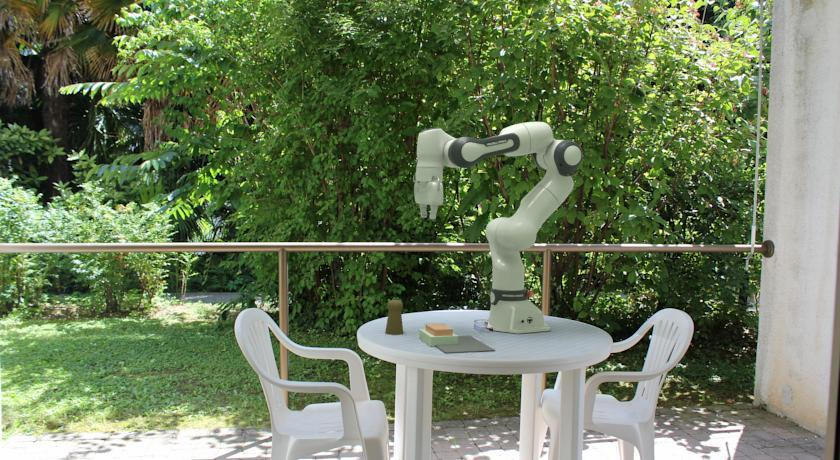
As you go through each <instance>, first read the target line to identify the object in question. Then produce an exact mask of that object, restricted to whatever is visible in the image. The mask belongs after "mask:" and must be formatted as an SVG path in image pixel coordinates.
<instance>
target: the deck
mask: <svg viewBox="0 0 840 460" xmlns="http://www.w3.org/2000/svg"><path fill="white" fill-rule="evenodd" d="M458 336H459V335H457V334H456V333H454V332H453V335H452V336H433V335H432V334H430V333H429V332H427V331H426V328H420V329H418V339H419V340H421V341H422V342H423V343H425V344H426V345H428V346H429V347H435V345H451V344H458ZM435 348H436V347H435Z"/></svg>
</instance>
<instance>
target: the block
mask: <svg viewBox="0 0 840 460" xmlns="http://www.w3.org/2000/svg"><path fill="white" fill-rule="evenodd" d="M425 329H426V331H427V332H429V333H430V334H432V335H433V336H452V335H453V333H454V332H453V331H454V330H453V328H452V327H450V326H448V325H446V324H444V323H425Z"/></svg>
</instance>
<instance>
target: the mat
mask: <svg viewBox="0 0 840 460" xmlns="http://www.w3.org/2000/svg"><path fill="white" fill-rule="evenodd" d="M457 336H458V344H451V345H435V348H437V349H438V350H439V351H441V352H442V353H444V354H446V355H447V354H461V353H462V354H463V353H467V354H468V353H483V352H485V353H486V352H496V349H494V347H491V346H489V345H488V344H485V343H484V342H482V341H480V340H478V339H477V338H475V337H473V336H472V335H457Z"/></svg>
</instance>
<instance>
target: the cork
mask: <svg viewBox="0 0 840 460" xmlns="http://www.w3.org/2000/svg"><path fill="white" fill-rule="evenodd" d="M386 307H387V310H388V314H387V319H386V327H385V334H387V335H392V336H395V335H396V336H398V335H403V334H404V327H403V317H402V310H403V307H404V304H403V302H402V300H398V299H392V300H388V302H387V304H386Z"/></svg>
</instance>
